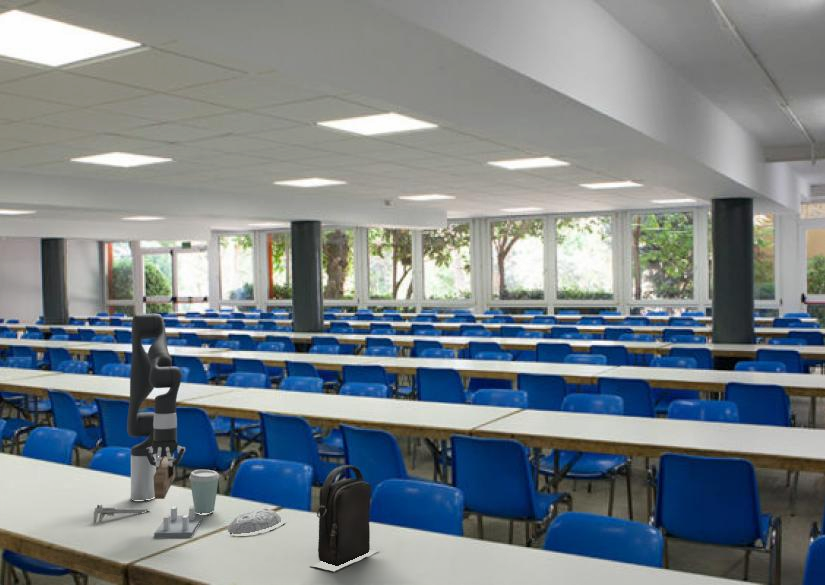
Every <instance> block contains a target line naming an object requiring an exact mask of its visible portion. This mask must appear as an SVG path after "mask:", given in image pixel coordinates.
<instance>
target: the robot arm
mask: <svg viewBox="0 0 825 585" xmlns="http://www.w3.org/2000/svg"><path fill="white" fill-rule="evenodd" d="M165 325H166V324H165V321H164V318H163V316H162V315H161V314H160V313H139V314H138V313H137V314H134V316H133V317H132V320H131V361H130V362H131V363H130V372H129V374H130V377H129V403H128V412H127V419H126V420H127V421H126V431H127V434H128V437H131V438H141V437H142V438H144V437H146V438H145V440H144V441H141V442H140V443H137V444H135V445H133V446H132V447H131V449H130V500H131V499H133V500H146V499H151V498H153V497H155V493H154V478H153V477H154V475H155V473H156V471H157V469H158V467H159V466H160V464H161V462H162V460H163V458H164V456H166V457H167V458H168V462H169V478H171V477H172V476H173V475H174V465H175V466H177V465H179V464H180V462H181V460H182V458H183V457H184V454H185V452H186V447H185V446H181V445H179V443H178V438H177V437H178V417H177V399H178V393H179V388H180V385H181V383H182V379H183V373H182V371H181V369H180V367H178V366H172V358H171V355H170V352H169V348H168V340H167V331H166V326H165ZM151 339H152V340H153V339H154V341H153V342H152V343H151V345H150V347H149V348H148V352H146V350H145V348H144V346H143V343H142V340H151ZM168 388H169V390H168V391H166V392H165V393H162V394H159V395H156V396H155V398H154V402H153V403H154V407H153V408H154V409H153V410H154V411H145V412H139V411H140V409H141V408H140V407H141V406H142V404H143V402H144V401H145V400H146V399H147V398H148V397H149V396H150V394H151V393H152V392H153V390H154V389H168ZM176 450H177V453H178V454H177V457H176V458H175V455H174V453H175V452H176ZM173 455H174V456H173ZM174 459H176V461H174Z"/></svg>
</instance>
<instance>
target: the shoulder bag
mask: <svg viewBox="0 0 825 585" xmlns="http://www.w3.org/2000/svg"><path fill="white" fill-rule="evenodd" d="M346 469H350V470H352V471H353V472H354V474H355V478H350V477H349V478H346V479H342V480H338V481H335V482H333V481H334V480H335V478H336V477H337V475H339V473H340V472H342V471H343V470H346ZM371 491H372V486H371V484H370V483H369V482H366V481H364V479H363V474H362V473H361V470H360V469H359V468H358V467H357V466H353V465H351V464H349V465H348V464H342V465H340V466H337V467H336V468H334V469H332V470H331V471H330V472H329V473H328V475H327V476H326V477H325V480H324V483H323V486H321V487H320V489H319V494H318V496H319V498H318V499H319V505H318V506H319V508H318V509H317V511H316V517H317V518H318V520H319V521H318V545H317V546H318V547H317V556H318V560H319V562H320V561H323V562H326V563H328V564H332V565H335V566H339V565H341V564H344V563H346V562H348V561H350V560H353V559H355V558H357V557H359V556H362V555H364V554H366V553H368V552H369V550H371V546H370V544H371V543H370V542H371V541H370V540H371V539H370V537H371V536H370V533H371V531H370V515H371V514H370V512H371V508H370V507H371Z"/></svg>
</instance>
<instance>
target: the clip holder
mask: <svg viewBox="0 0 825 585" xmlns="http://www.w3.org/2000/svg"><path fill="white" fill-rule="evenodd" d="M202 519H203V520H204V515H197V514H196V512H195V506H194V505H193V506H190V507H189V508H188V514H187V515H186V514H184V515H178V506H171V508H170V515H164V517H163V522H162V523H161V524H160V525H159V526H158V528H157V529H156V530H155V532H154V533H153V538H154V539H155V538H157V539H158V538H165V539H166V538H187V537H186V536H192V535H193V536H194V535H195V533H196V531H197V530H196V528H197V527H198V525H199V523H200V522H201V520H202ZM203 520H202V521H203ZM201 523H202V522H201ZM201 523H200V524H201ZM199 526H200V525H199ZM198 528H199V527H198ZM198 528H197V529H198ZM195 530H196V531H195ZM194 532H195V533H194ZM193 536H192V537H193Z"/></svg>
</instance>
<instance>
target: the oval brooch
mask: <svg viewBox="0 0 825 585" xmlns="http://www.w3.org/2000/svg"><path fill="white" fill-rule="evenodd" d="M281 518H282V517H281V516H280V515H279V514H278V513H277V511H275V510H270V509H268V508H267V507H264V508H257V509H254V510H251V511H247V512H244V513H243V514H239V515H238V516H236V517H235V518H234V519H233V521H231V523H230V524H229V526H227V528H228V529H227V530H228V532H230V533H233V534H241V533H250V532H255V531H259V530H262V529H266V528H269V527H272V526H274V525H276V524H278V523H279V522H281Z"/></svg>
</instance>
